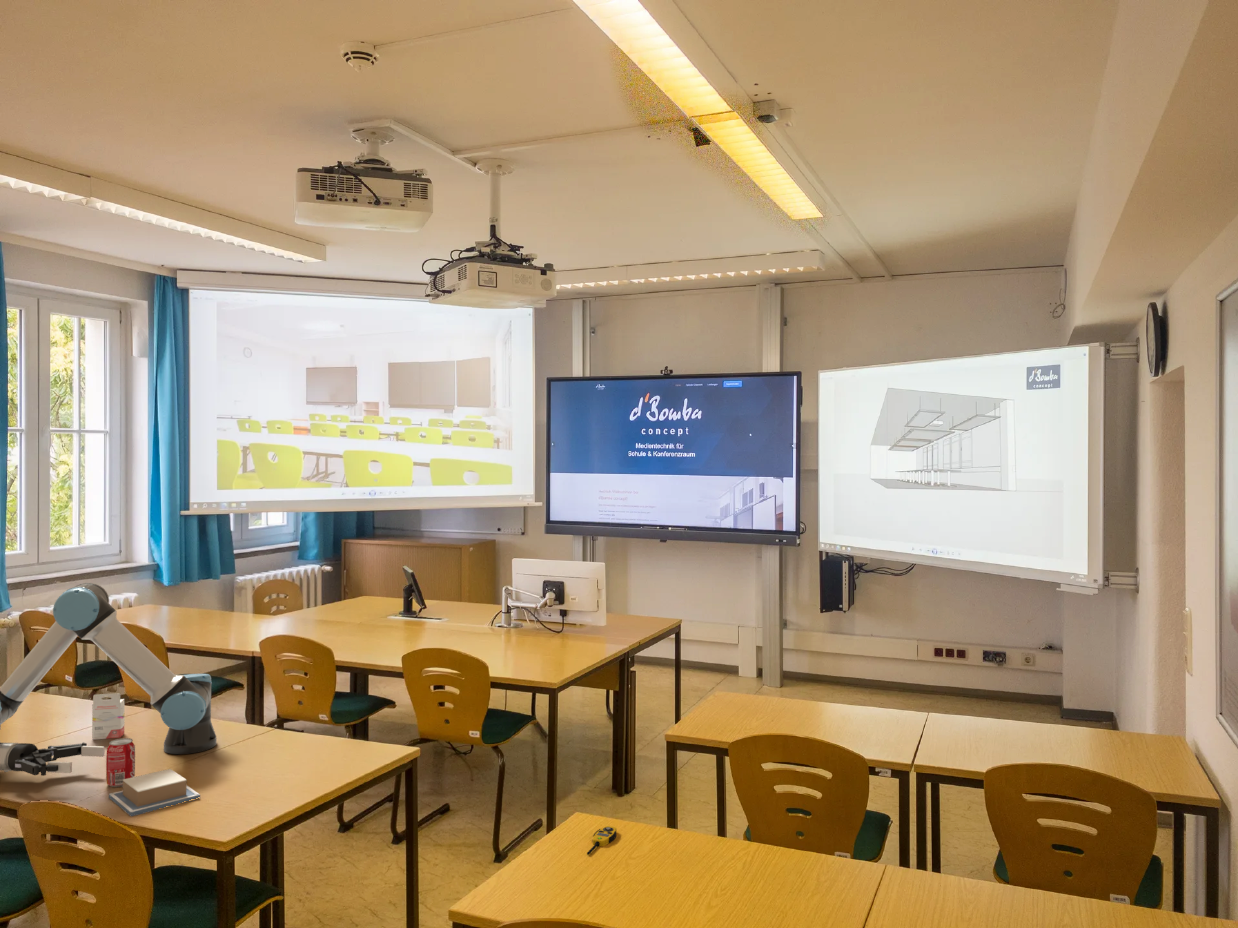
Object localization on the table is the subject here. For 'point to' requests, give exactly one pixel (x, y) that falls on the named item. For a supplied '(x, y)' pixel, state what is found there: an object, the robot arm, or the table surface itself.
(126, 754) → the soda can
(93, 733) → the ink cartridge box
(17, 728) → the table surface
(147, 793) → the board
